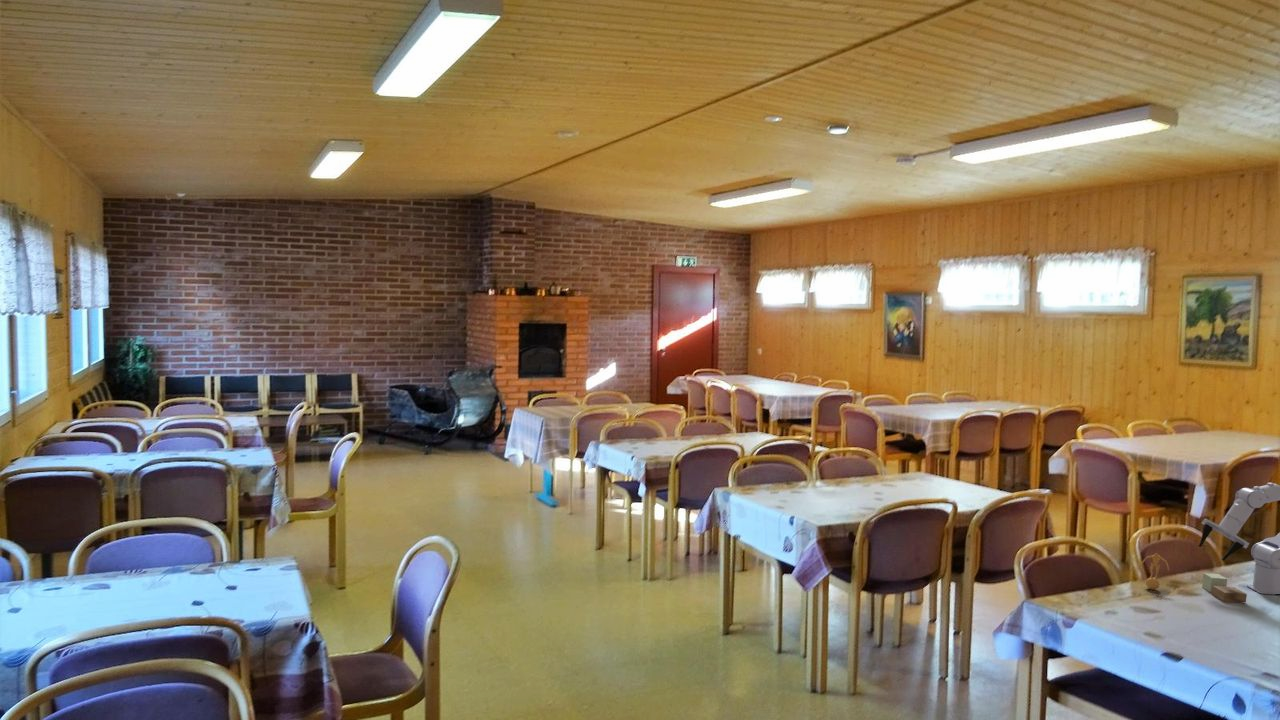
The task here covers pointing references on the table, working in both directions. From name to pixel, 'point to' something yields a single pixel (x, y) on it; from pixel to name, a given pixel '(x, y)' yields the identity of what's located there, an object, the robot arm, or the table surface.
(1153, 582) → the figurine
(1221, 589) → the walnut block
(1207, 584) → the sage cube
